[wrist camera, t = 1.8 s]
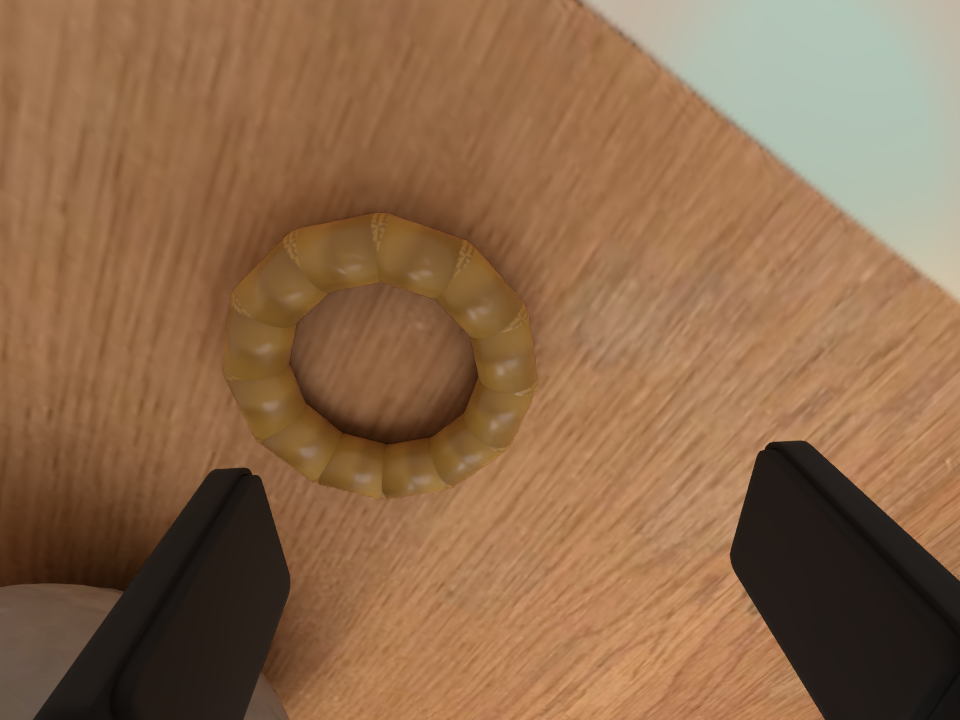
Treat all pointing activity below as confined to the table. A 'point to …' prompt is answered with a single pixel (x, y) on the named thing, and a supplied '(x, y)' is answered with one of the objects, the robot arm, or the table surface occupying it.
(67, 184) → the table surface
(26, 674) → the bowl
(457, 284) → the ring
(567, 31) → the table surface
